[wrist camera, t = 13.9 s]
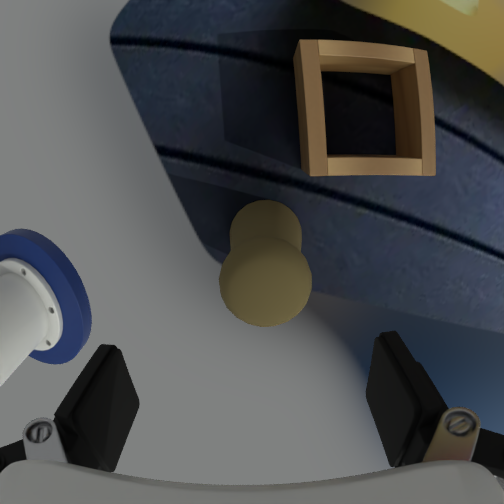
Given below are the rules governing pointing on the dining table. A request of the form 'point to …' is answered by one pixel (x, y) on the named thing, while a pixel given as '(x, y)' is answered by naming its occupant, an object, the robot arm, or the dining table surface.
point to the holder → (404, 101)
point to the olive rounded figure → (265, 265)
